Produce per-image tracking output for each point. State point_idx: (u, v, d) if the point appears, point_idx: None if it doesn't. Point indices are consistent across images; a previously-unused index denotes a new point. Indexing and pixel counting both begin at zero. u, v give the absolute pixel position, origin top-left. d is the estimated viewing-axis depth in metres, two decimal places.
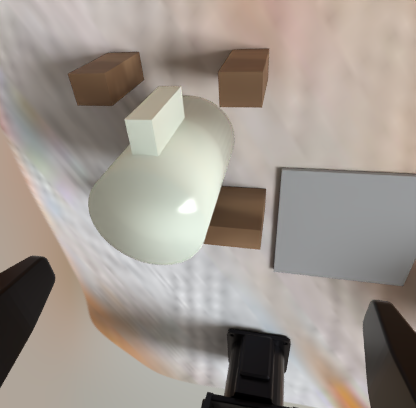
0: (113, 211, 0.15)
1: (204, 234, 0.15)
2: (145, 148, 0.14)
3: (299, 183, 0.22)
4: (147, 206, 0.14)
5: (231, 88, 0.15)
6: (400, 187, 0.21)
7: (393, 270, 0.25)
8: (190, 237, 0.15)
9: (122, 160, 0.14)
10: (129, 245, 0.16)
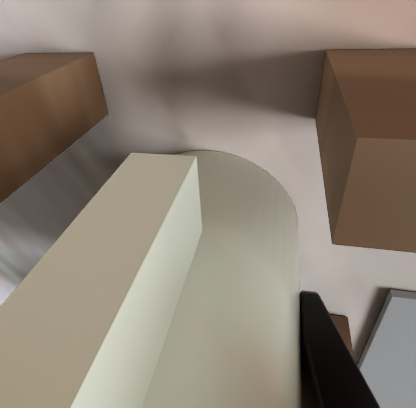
0: None
1: None
2: None
3: None
4: None
5: (396, 194, 0.04)
6: None
7: None
8: None
9: None
10: None
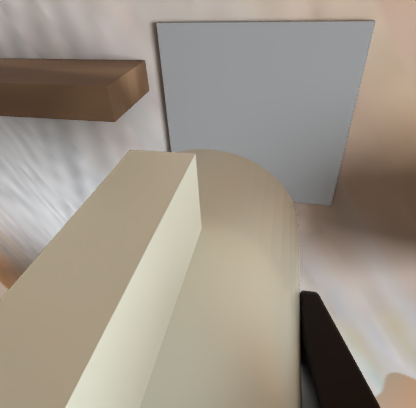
0: None
1: None
2: None
3: (182, 45, 0.16)
4: None
5: None
6: (310, 43, 0.15)
7: (316, 181, 0.19)
8: None
9: None
10: None
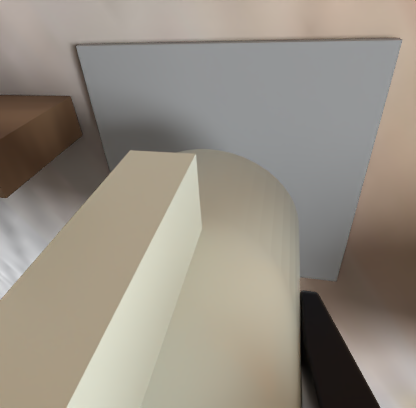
0: None
1: None
2: None
3: (116, 76, 0.11)
4: None
5: None
6: (301, 72, 0.10)
7: (316, 253, 0.14)
8: None
9: None
10: None
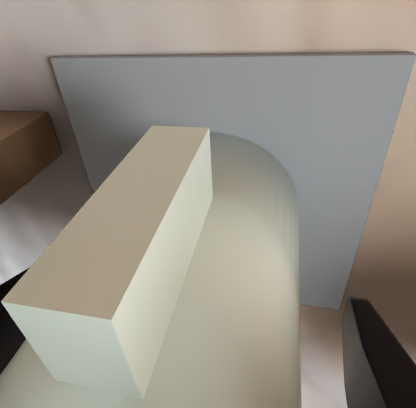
0: None
1: None
2: (96, 378, 0.04)
3: (95, 92, 0.10)
4: None
5: None
6: (300, 90, 0.09)
7: (317, 280, 0.13)
8: None
9: (19, 403, 0.04)
10: None
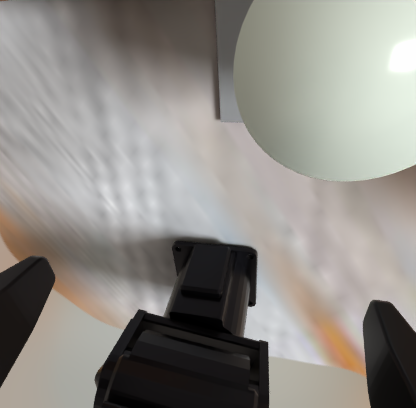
0: (290, 53, 0.07)
1: None
2: None
3: None
4: (380, 26, 0.07)
5: None
6: None
7: None
8: None
9: None
10: (297, 140, 0.08)
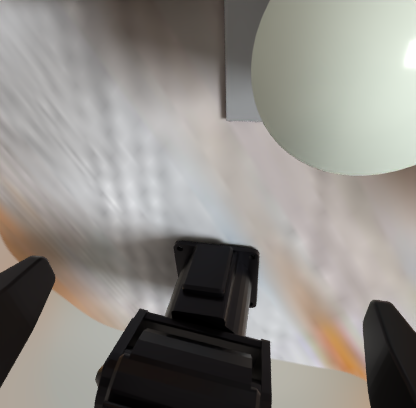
0: (309, 44, 0.07)
1: None
2: None
3: None
4: (400, 18, 0.07)
5: None
6: None
7: None
8: None
9: None
10: (312, 133, 0.08)
